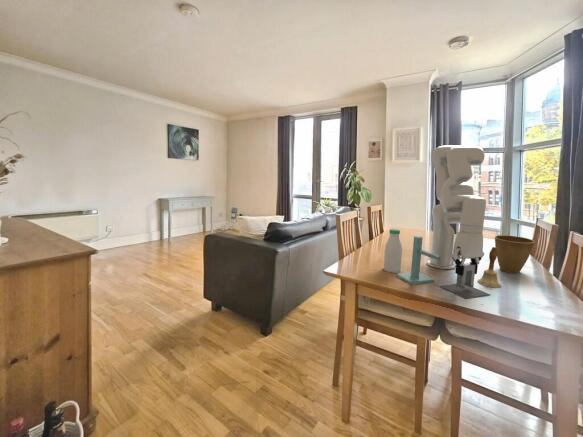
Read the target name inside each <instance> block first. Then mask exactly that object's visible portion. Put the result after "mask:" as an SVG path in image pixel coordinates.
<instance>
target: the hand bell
mask: <svg viewBox="0 0 583 437" xmlns="http://www.w3.org/2000/svg"><path fill="white" fill-rule="evenodd" d="M488 254H489V256H488V257H489V264H488V269H485V270H484V271H483V274H482V276H481V277H480V278H479V279H478V280H477V283H478V284H480V285H482V286H485V287H490V288H502V284H501V282H499V280H498V279H499V278H498V273H497V271H495V270H494V267H495V262H496V260H497V251H496V247H495V246H492V248H491V249H490V251H489V253H488Z"/></svg>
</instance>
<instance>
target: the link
mask: <svg viewBox="0 0 583 437" xmlns="http://www.w3.org/2000/svg"><path fill="white" fill-rule="evenodd" d="M463 266H464V274H463V276H461V275H458V274H456V282H455V284H456V286H457V287H459V288H464V287H465V285H466V286H469V287H474V283H475V275H476V274H475V267H476V265H474V264H471V263H470V262H469V263H464V264H463Z"/></svg>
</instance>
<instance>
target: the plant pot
mask: <svg viewBox="0 0 583 437" xmlns="http://www.w3.org/2000/svg"><path fill="white" fill-rule="evenodd" d="M535 241H536V240H533V239H531V238H527V237H524V236H516V235H515V236H514V235H508V234H507V235H504V234H503V235H495V236H494V244H495V245H494V247H496V251H497V257H496V260H497V262H498V266H499V268H500V270H501V271H503V272H506V273H510V274H511V273H512V274H519V273H520V272H521V271H522V269H523V268H524V266H525V265H526V263H527V262H528V259H529V257H530V255H531V253H532V251H533V247H534V245H535Z"/></svg>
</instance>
